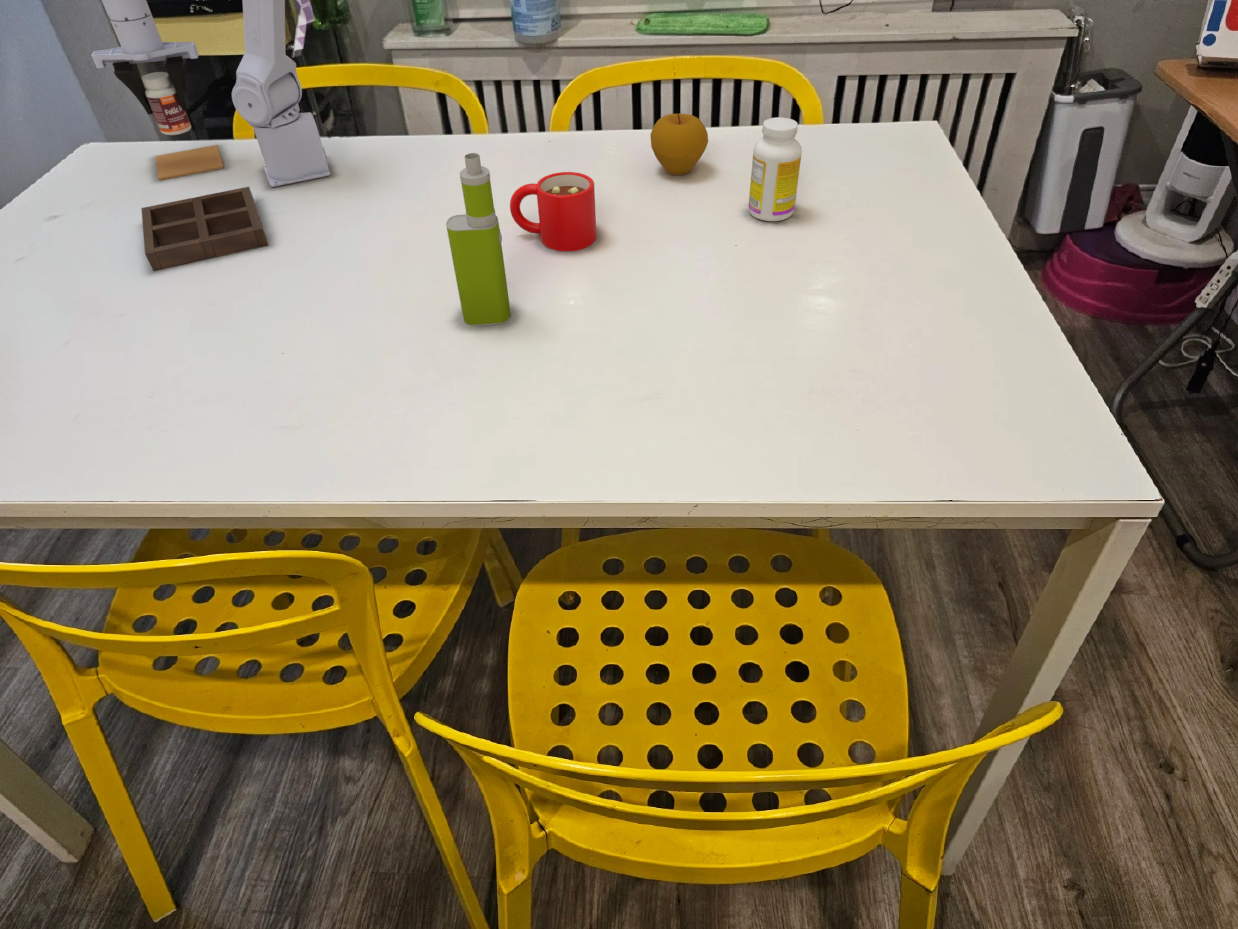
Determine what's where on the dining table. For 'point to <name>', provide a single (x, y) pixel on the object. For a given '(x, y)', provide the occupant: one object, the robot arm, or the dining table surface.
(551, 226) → the mug
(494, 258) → the vape
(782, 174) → the supplement bottle
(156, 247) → the rack
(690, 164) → the apple
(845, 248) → the dining table surface
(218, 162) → the cork mat
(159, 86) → the pill bottle
